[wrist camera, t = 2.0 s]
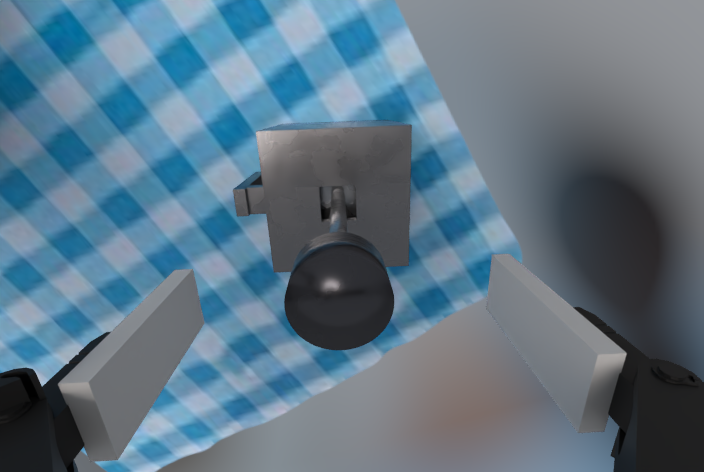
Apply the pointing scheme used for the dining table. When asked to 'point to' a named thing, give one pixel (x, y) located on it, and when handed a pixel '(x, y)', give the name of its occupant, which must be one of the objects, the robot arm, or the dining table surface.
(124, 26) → the dining table surface
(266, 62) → the dining table surface
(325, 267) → the plunger
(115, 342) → the robot arm
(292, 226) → the steel cube with knob
